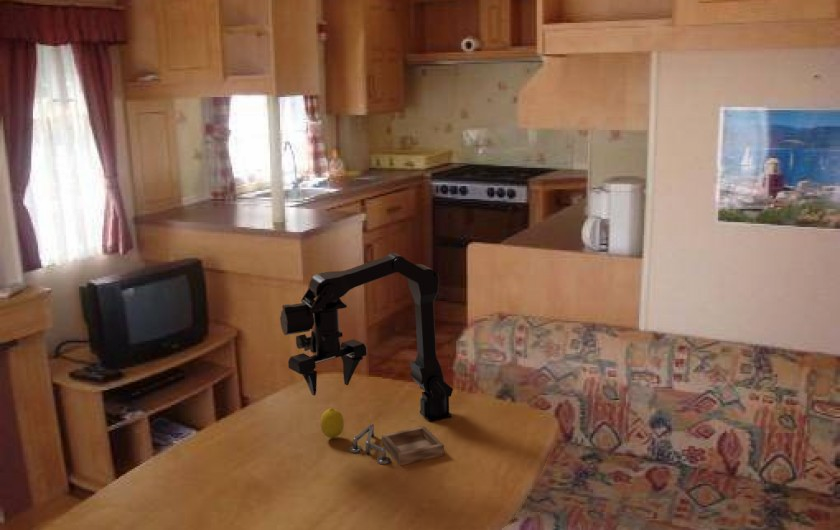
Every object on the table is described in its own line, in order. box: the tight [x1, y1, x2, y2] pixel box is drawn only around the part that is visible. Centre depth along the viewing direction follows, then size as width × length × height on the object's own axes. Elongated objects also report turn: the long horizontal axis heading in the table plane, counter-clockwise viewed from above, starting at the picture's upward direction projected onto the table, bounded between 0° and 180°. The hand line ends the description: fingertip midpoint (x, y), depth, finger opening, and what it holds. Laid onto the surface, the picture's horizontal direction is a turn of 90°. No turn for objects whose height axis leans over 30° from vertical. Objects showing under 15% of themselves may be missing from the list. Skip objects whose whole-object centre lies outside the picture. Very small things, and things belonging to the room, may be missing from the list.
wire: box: [348, 423, 392, 465], centre depth 183 cm, size 8×15×3 cm, turn 24°
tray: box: [381, 425, 445, 466], centre depth 183 cm, size 11×11×3 cm
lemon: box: [320, 407, 345, 440], centre depth 189 cm, size 6×6×8 cm
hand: (330, 389), depth 187 cm, fingers open, 9 cm apart
